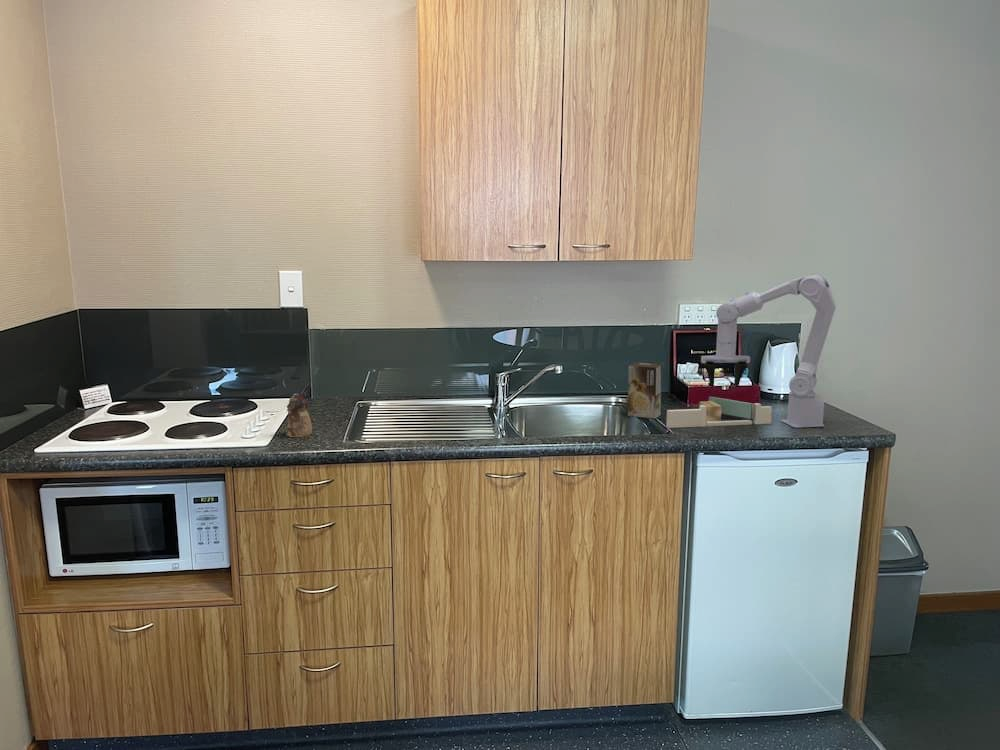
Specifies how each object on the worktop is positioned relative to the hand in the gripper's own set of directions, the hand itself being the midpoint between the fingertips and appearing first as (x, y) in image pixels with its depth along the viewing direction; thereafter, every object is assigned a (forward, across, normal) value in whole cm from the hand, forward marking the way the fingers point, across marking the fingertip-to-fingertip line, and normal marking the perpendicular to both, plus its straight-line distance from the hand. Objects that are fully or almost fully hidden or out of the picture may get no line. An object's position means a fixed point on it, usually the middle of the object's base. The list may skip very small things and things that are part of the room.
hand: (724, 385), depth 240 cm
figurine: (+10, -126, -20) cm, 128 cm away
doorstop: (+10, -5, -5) cm, 12 cm away
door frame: (+9, -4, -12) cm, 16 cm away
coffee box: (+10, -24, +1) cm, 26 cm away
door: (+8, +1, -5) cm, 10 cm away
